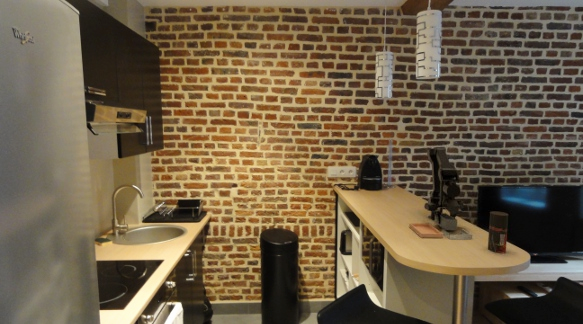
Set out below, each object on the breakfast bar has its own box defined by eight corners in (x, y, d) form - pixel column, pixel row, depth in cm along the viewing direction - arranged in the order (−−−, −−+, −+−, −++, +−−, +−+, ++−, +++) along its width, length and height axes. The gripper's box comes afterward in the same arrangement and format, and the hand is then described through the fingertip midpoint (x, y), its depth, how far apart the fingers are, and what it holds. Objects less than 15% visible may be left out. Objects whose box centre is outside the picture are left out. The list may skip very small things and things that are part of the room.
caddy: (434, 222, 147) (435, 213, 147) (445, 222, 147) (446, 213, 146) (445, 229, 136) (445, 219, 136) (456, 230, 136) (457, 219, 136)
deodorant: (498, 253, 112) (500, 216, 111) (484, 248, 118) (486, 212, 116) (509, 252, 114) (512, 214, 112) (495, 246, 119) (497, 210, 118)
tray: (409, 227, 144) (409, 223, 144) (428, 227, 144) (428, 223, 144) (421, 238, 129) (421, 233, 129) (442, 238, 129) (443, 233, 129)
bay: (441, 232, 136) (441, 228, 135) (462, 233, 135) (462, 229, 135) (449, 239, 128) (450, 234, 128) (472, 239, 127) (472, 234, 127)
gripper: (434, 196, 133) (433, 229, 134) (476, 196, 132) (474, 229, 133) (424, 191, 144) (423, 221, 145) (462, 191, 143) (461, 222, 144)
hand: (445, 224), depth 142 cm, fingers closed on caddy, 5 cm apart
